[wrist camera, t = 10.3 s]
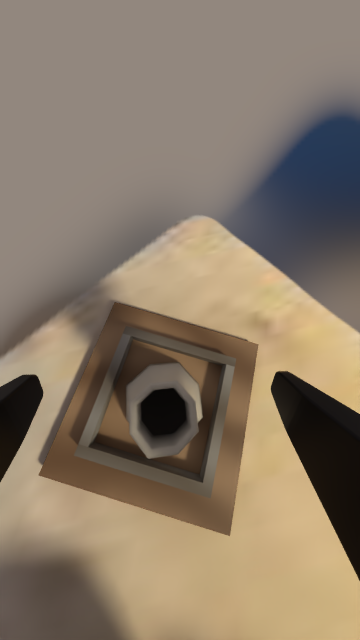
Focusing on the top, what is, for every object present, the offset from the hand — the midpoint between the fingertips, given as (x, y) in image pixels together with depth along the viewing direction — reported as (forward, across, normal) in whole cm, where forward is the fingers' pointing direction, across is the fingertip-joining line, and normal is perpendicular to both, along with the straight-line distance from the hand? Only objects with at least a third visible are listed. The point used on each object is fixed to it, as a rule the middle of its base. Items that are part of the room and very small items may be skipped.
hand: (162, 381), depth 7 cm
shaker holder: (+8, 0, +10) cm, 13 cm away
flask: (+7, 0, +10) cm, 12 cm away
